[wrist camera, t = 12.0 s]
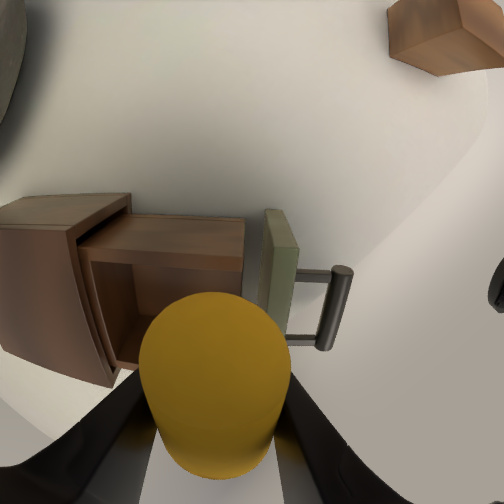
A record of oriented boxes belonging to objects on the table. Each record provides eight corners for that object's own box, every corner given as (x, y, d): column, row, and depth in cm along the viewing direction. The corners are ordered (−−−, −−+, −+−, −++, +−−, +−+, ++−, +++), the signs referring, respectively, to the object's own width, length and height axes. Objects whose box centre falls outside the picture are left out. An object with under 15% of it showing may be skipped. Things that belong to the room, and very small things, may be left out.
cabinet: (131, 192, 19) (65, 230, 11) (144, 319, 23) (112, 389, 15) (23, 197, 18) (-41, 227, 10) (46, 301, 23) (3, 350, 15)
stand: (386, 9, 12) (447, -33, 4) (434, 30, 13) (501, 7, 4) (389, 57, 14) (462, 27, 6) (438, 77, 15) (514, 67, 6)
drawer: (339, 215, 19) (379, 253, 12) (314, 331, 23) (332, 390, 17) (123, 203, 18) (72, 235, 12) (138, 319, 22) (110, 374, 16)
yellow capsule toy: (154, 260, 7) (94, 355, 4) (290, 269, 7) (322, 376, 4) (177, 410, 10) (163, 483, 6) (263, 416, 10) (267, 492, 7)
